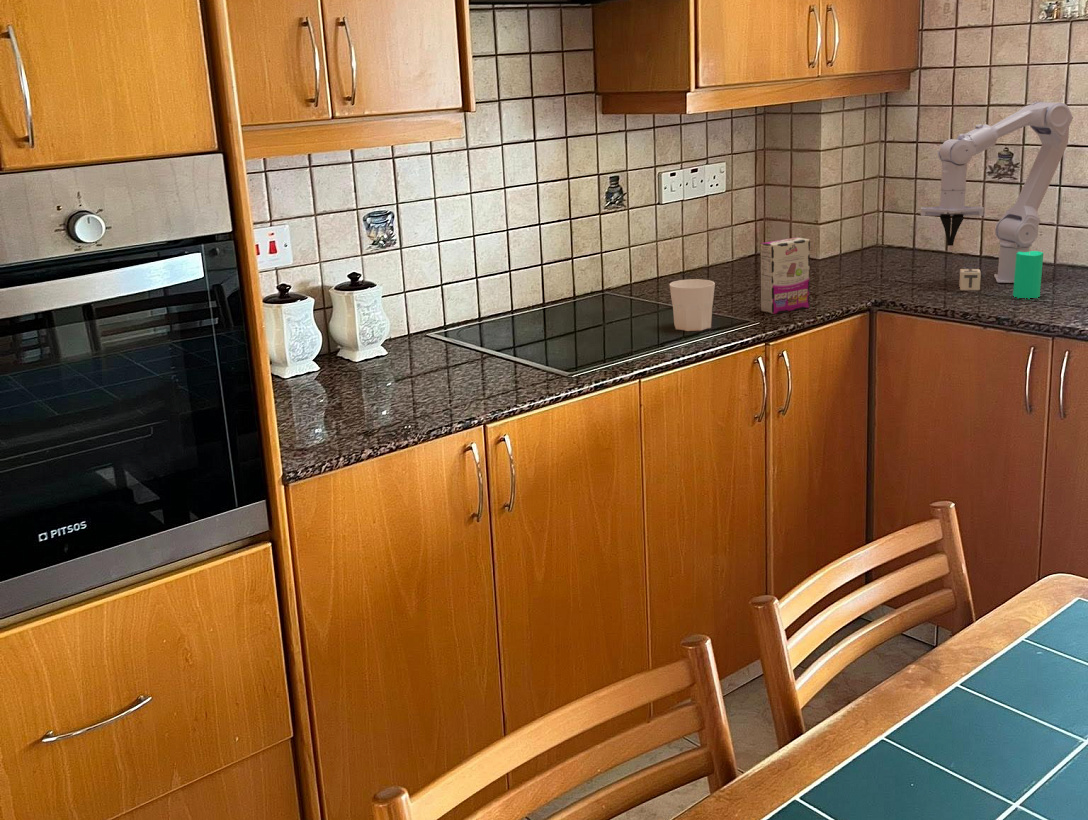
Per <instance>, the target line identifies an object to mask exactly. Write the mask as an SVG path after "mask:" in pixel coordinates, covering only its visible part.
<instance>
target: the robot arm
mask: <svg viewBox="0 0 1088 820" xmlns="http://www.w3.org/2000/svg"><path fill="white" fill-rule="evenodd" d="M1073 120H1074V117H1073V114H1072V112H1071V110H1070V108H1069V106H1068V105H1067V104H1066V103H1063V102H1044V101H1035V102H1033V103H1031V104H1028V105H1025V106H1023V107H1022V108H1021V109H1020V110H1018V111H1016V112H1014V113H1012V114H1011V115H1009V116H1006V117H1005V118H1004V119H1002V120H1000V121H998V122H996V123H994V124H993V125H989V124H986V123H984V124H980V123H978V124H976V125H975V126H974V129H972V130H969V131H968V132H966V133H960V134H958V135H957V137H956V138H955V139H953V138H950V139H947V140H945V141H944V142H943V143H942V144H941V146H940V147H939V150H938V151H937V156H938V159H939V160H940V162H941V176H940V177H941V179H940V181H941V182H940V198H939V199H940V200H939V206H930V207H926V206H925V207H920V217H935V216H936V217H940V221H941V224H942V226H943V228H944V233H945V237H946V246H947V247H950V246H954V241H955V239H956V236H957V233H958V231H959V229H960V227H961V224H962V223H963V221H964V217H965V216H967V217H968V216H979V217H983V216H984V210H985V208H984V207H983V206H965V204H966V202H965V201H966V188H967V187H966V186H967V172H968V171H967V170H968V167H967V166H968V163H970V161H971V159H972V158H973V157H974V156H976V155H978V154H980V153H982V152H985V151H986V150H988V149H990V148H992V147H994V146H995V145H996V144H997V141H998V139H999V138H1000V139H1001V138H1002V137H1004V136H1006V135H1009V134H1011V133H1013V132H1016V131H1018V130H1020V129H1022V128H1025V127H1027V126H1028V127H1030V128H1031V129H1032V130H1033V132H1034V133H1035V134H1036V135H1037V136H1038V137H1039V138H1038V139H1040V142H1041V146H1040V149H1039V151H1038V153H1037V155H1036V158H1035V160H1034V162H1033V164H1032V166H1031V169H1030V171H1029V173H1028V175H1027V178H1026V180H1025V181H1024V184H1023V186H1022V188H1021V191H1020V193H1019V195H1018V197H1017V199H1016V202H1015V203H1014V204H1013V205H1012V206H1011V207H1009V208H1008V209H1006V211H1005V212H1004V215H1003V216H1002V218H1001V219H999V220H998V221H997V223H996V224H995V229H994V232H995V237H997V239H998V240H999V243H998V244H999V252H998V253H999V254H998V269H997V273H994V275H993V276H994V279H995V280H996V283H1000V284H1001V283H1002V284H1003V283H1004V284H1007V283H1008V284H1012V283H1013V284H1014V275H1015V262H1016V253H1018V252H1029V251H1031V248H1030V246H1031V247H1032V246H1033V244H1034V242H1035V241H1036V239H1037V237H1038V232H1039V225H1040V222H1041V218H1040V215H1039V213H1038V210H1039V208H1040V206H1041V203H1042V201H1043V199H1044V197H1045V195H1046V192H1048V191H1047V190H1048V188H1049V187H1050V185H1051V182H1052V179H1053V177H1054V175H1055V173H1056V171H1057V169H1058V166H1059V164H1060V162H1061V160H1062V158H1063V157H1064V153H1065V151H1066V148H1067V147H1068V144H1069V133H1070V126H1071V123H1072V121H1073Z"/></svg>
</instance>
